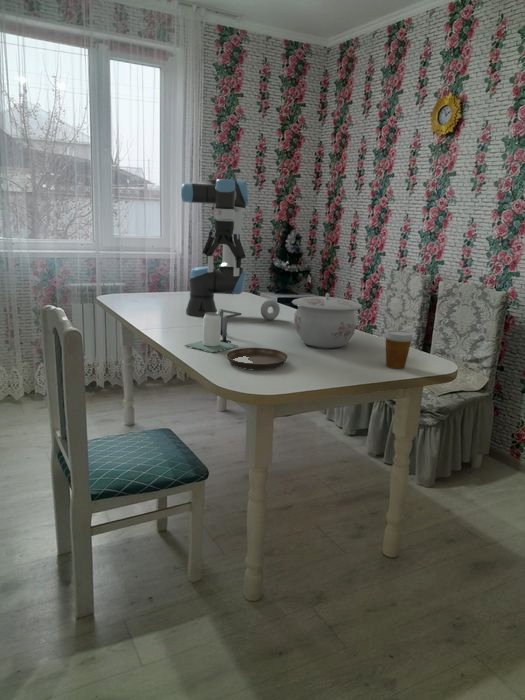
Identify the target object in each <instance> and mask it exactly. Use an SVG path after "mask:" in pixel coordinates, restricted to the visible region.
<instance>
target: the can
mask: <svg viewBox="0 0 525 700" xmlns="http://www.w3.org/2000/svg"><path fill="white" fill-rule="evenodd" d="M202 324H203V325H202V333H203V334H202V341H203V345H204V346H207V347H217V346H219V345H220V340H221V336H220V333H221V317H220V313H219V312H217V313H216V312H207V313H205V315H204V316H203V319H202Z"/></svg>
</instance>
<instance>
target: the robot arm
mask: <svg viewBox="0 0 525 700" xmlns="http://www.w3.org/2000/svg"><path fill="white" fill-rule="evenodd" d="M248 192H249V191H248V184H247V181H245V180H242V179H241V180H240V179H230V178H228V179H227V178H210V179H205V180H201V181H199V182H197V183H192V182H188V183H187V182H185V183H182V184H181V201H182V202H184V203H190V204H192V203H194V204H213V205H215V208H214V209H215V210H214V211H215V213H214V219H215V221H214V230H215V231H213V230H212V231H209V232H208V238H207V240H206V243H205V245H204V246H203V250H202V254H203V255H206V264H207V266H206V265H205V266H197V267H193V268H192V269H191V270H190V274H189V275H190V276H189V284H190V285H189V300H188V303H187V306H186V308H185V314H186V315H187V316H192V317H204V315H205V313H207V312H216V313H218V309H217V306H216V302H215V298H214V297H215V294H218V295H219V294H221V295H241V294H242V293H243V290H244V286H245V281H246V280H245V279H246V272H247V271H246V270H244V266H243V265H242V259H246V257H247V256H246V254H245V250H244V248H243V245H242V228H243V227H242V223H243V213H244V212H245V210H246V208H247V207H248V206H249V204H250V202H249V193H248ZM220 245H222V261H221V264H219V266H218V269H216V267H215V266H214V255H213V254H214V253H215V252H216V250H217V249H218V247H219V246H220Z"/></svg>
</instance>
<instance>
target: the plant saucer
mask: <svg viewBox="0 0 525 700" xmlns="http://www.w3.org/2000/svg"><path fill="white" fill-rule="evenodd" d="M225 356H226V358H227V360H228V361H229V362H230V363H231V364H232V365H233V366H234V365H235V367H236V366H238V367H237V368H239V367H241V368H240V369H242V368H246V369H245V370H248V369H253V370H252V371H269V370H270V369H271V370H276V369H278V368H280V367H281V366H282V365H283V364H285V362H286V361H287V359H288V354H286V353H285V352H283V351H282V350H281V351H280V350H278V349H272V348H267V347H266V348H265V347H244V348H243V347H242V348H236V349H232V350H230V351H228V352H227V353H226V355H225ZM243 356H246V357H249V358H248V360H250V361H252V362H253V363H244V362H238V361H235V360H233V359H235V358H238V357H243ZM271 370H270V371H271Z"/></svg>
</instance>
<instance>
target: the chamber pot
mask: <svg viewBox="0 0 525 700" xmlns="http://www.w3.org/2000/svg"><path fill="white" fill-rule="evenodd" d="M291 303H292V304H293V305H294V306H297V310H296V311H295V313H294V316H293V317H294V319H293V321H294V325H295V326H294V328H295V332H296V333H297V335H298V336H299V338H300V340H301V341H302V343H304V344H305V345H307V346H309V347H313V348H317V349H323V350H324V349H325V350H326V349H329V350H330V349H337V348H341V347H344V346H345V345H347V344H348V342H349V341H350V340H351V339H352V337H353V336H354V334H355V331H356V329H357V324H358V315H357V314H356V311H357V310H360V309H361V308H362V307H363V305H362V304H360V303H358V302H357V301H354V300H350V299H346V298H341V297H332V296H330V293H329V292H326V293H325V296H305V297H298V298H295V299H293V300H292V301H291Z"/></svg>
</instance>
